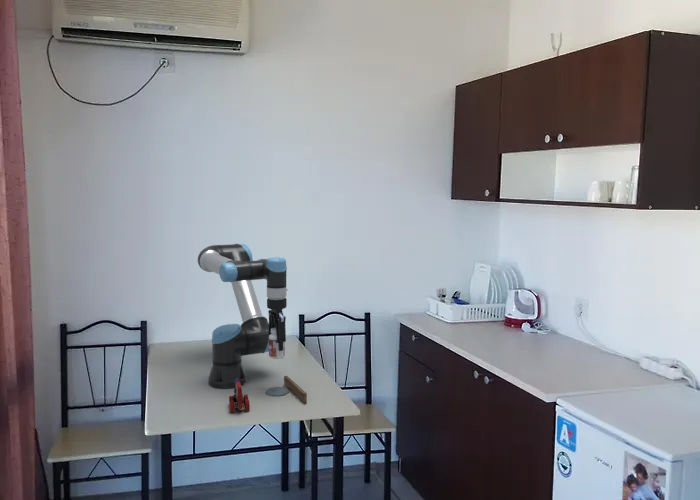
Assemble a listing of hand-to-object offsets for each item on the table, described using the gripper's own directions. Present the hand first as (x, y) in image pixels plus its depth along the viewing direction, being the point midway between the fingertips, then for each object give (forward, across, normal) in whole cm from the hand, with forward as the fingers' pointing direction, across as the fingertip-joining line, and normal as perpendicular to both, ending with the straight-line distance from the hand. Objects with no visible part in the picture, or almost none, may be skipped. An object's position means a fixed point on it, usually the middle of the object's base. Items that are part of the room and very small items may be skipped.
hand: (277, 356), depth 239 cm
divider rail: (+15, -5, -6) cm, 16 cm away
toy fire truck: (+15, -10, +18) cm, 25 cm away
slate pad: (+15, 0, 0) cm, 15 cm away
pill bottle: (0, 0, 0) cm, 0 cm away
